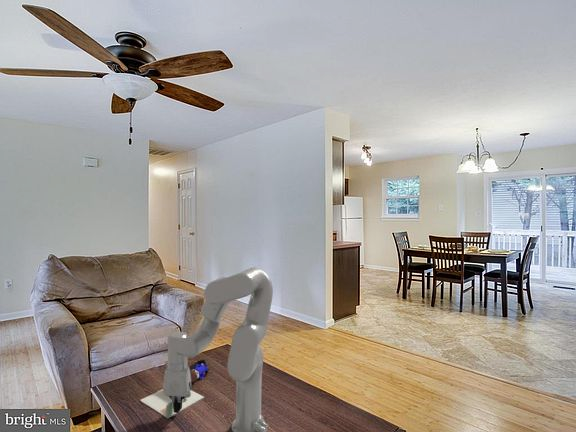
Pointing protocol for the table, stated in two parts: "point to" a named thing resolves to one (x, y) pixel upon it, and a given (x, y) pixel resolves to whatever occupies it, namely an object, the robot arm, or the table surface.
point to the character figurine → (198, 369)
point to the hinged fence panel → (170, 408)
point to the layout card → (168, 401)
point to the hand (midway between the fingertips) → (177, 410)
